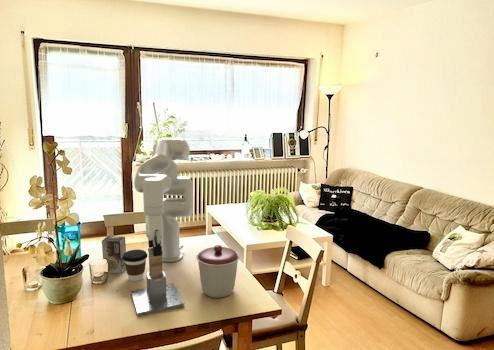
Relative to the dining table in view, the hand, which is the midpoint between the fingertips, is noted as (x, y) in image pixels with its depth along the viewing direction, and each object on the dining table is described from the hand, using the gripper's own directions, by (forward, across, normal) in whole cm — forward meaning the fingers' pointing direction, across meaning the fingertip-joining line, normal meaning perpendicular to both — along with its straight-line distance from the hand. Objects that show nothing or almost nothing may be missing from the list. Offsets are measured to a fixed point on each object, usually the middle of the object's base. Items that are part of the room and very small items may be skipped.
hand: (155, 251), depth 152 cm
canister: (+22, +2, +26) cm, 34 cm away
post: (+20, -1, 0) cm, 20 cm away
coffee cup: (+21, -24, -5) cm, 33 cm away
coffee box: (+21, -36, -12) cm, 44 cm away
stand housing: (+22, -1, 0) cm, 22 cm away
